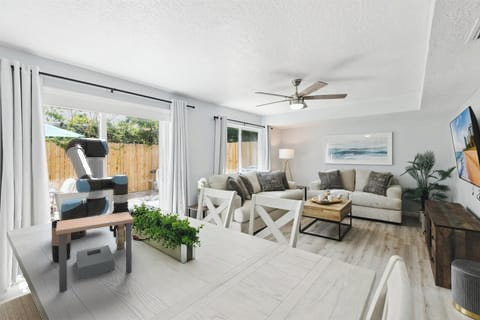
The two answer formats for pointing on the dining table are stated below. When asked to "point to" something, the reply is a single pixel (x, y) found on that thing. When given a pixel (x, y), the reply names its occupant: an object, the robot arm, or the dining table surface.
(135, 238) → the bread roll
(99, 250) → the socket board
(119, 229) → the oak peg
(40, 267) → the dining table surface
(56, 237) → the travel mug
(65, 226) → the wooden side table
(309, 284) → the dining table surface
